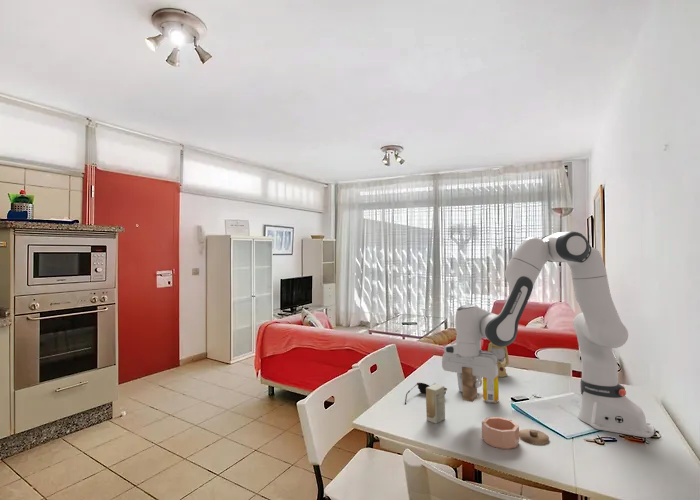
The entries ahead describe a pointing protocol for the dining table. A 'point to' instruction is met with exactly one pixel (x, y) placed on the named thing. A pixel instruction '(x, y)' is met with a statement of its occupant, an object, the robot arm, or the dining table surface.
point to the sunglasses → (422, 389)
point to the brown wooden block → (468, 385)
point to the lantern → (499, 357)
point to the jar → (500, 432)
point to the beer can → (490, 390)
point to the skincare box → (435, 403)
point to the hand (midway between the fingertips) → (469, 386)
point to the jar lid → (533, 436)
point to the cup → (462, 385)
